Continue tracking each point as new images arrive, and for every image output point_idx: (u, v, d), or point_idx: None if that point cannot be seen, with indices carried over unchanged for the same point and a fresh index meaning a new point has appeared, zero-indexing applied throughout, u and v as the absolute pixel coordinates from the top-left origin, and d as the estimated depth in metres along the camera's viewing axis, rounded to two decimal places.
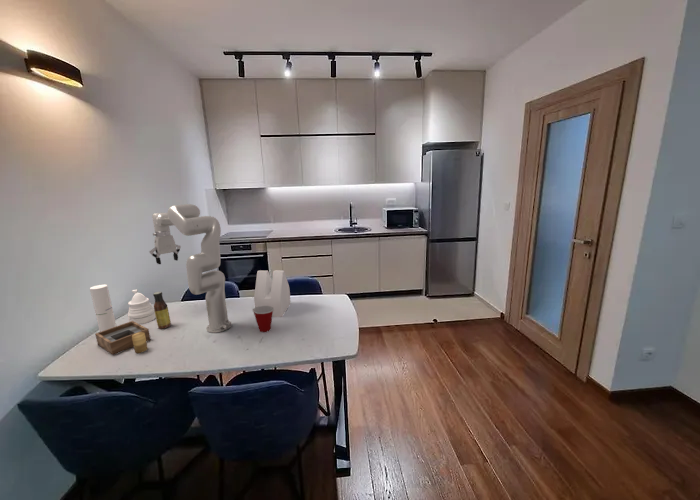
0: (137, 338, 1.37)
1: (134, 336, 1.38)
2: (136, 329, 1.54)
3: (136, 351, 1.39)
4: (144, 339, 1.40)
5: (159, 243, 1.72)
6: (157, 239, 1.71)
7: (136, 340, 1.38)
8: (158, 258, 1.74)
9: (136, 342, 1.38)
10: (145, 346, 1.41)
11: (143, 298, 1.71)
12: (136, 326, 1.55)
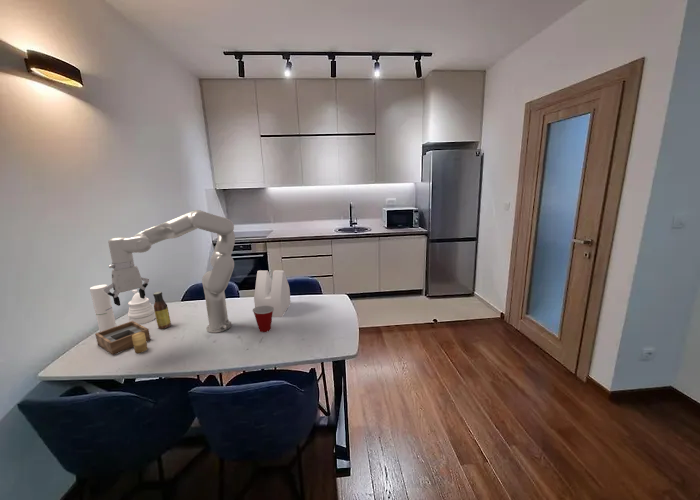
0: (137, 338, 1.37)
1: (134, 336, 1.38)
2: (136, 329, 1.54)
3: (136, 351, 1.39)
4: (144, 339, 1.40)
5: (117, 278, 1.29)
6: (115, 273, 1.28)
7: (136, 340, 1.38)
8: (116, 298, 1.30)
9: (136, 342, 1.38)
10: (145, 346, 1.41)
11: None
12: (136, 326, 1.55)
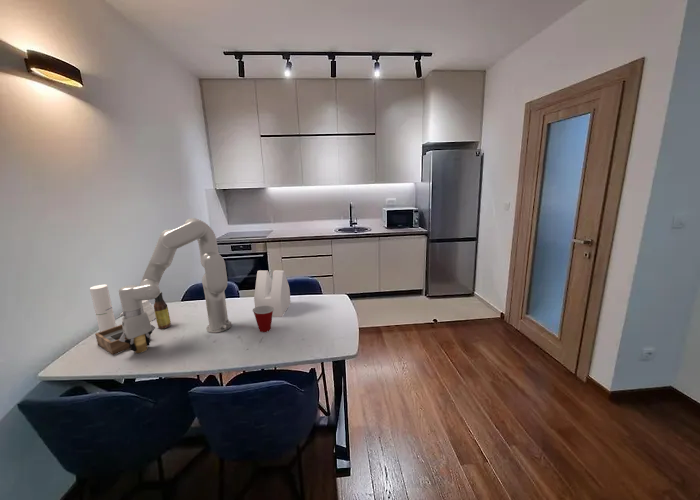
0: (137, 338, 1.37)
1: None
2: None
3: (136, 351, 1.39)
4: (144, 339, 1.40)
5: (128, 326, 1.34)
6: (125, 321, 1.33)
7: (136, 340, 1.38)
8: (132, 344, 1.37)
9: (136, 342, 1.38)
10: (145, 346, 1.41)
11: None
12: None
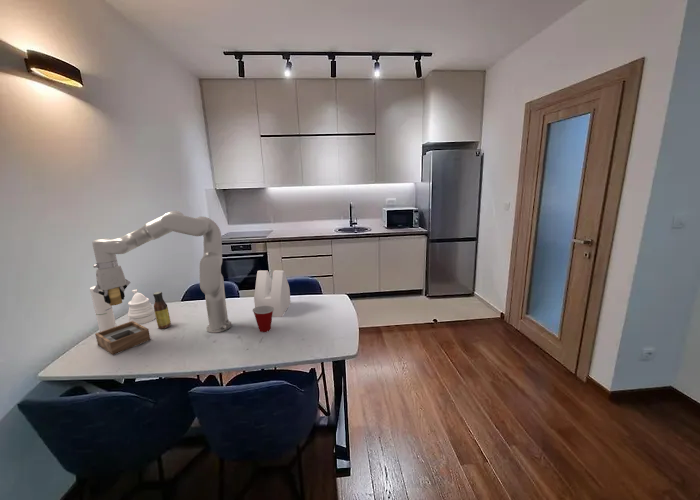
0: (111, 291, 1.41)
1: None
2: (136, 329, 1.54)
3: (110, 303, 1.42)
4: (118, 292, 1.43)
5: (101, 277, 1.37)
6: (99, 272, 1.36)
7: (110, 292, 1.41)
8: (106, 296, 1.40)
9: (110, 294, 1.41)
10: (119, 299, 1.44)
11: (143, 298, 1.71)
12: (136, 326, 1.55)
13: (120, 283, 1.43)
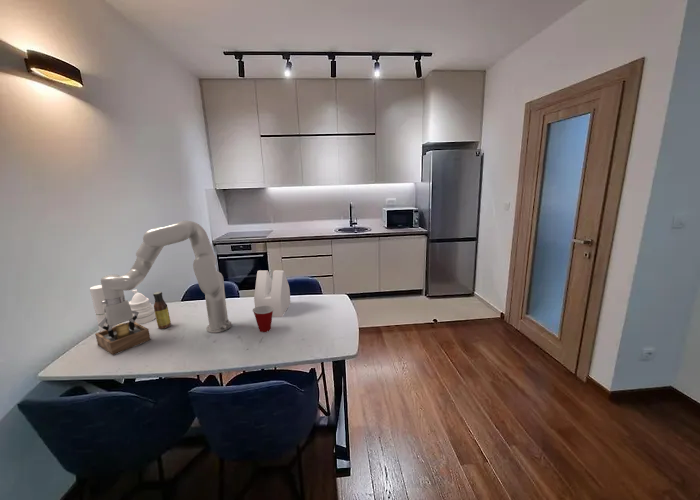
0: (120, 328, 1.45)
1: (118, 326, 1.46)
2: (136, 329, 1.54)
3: None
4: (127, 329, 1.48)
5: (109, 313, 1.41)
6: (107, 308, 1.40)
7: (119, 330, 1.45)
8: (110, 331, 1.43)
9: (119, 332, 1.46)
10: None
11: (143, 298, 1.71)
12: (136, 326, 1.55)
13: (127, 317, 1.47)
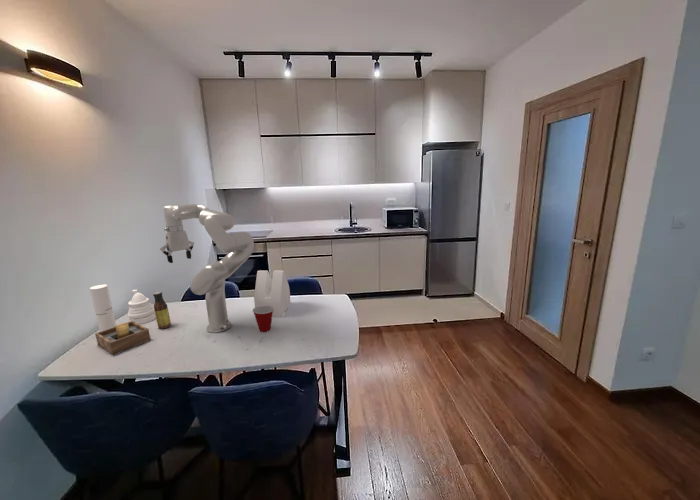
0: (121, 328, 1.46)
1: (118, 326, 1.46)
2: (136, 329, 1.54)
3: None
4: (128, 329, 1.48)
5: (171, 239, 1.53)
6: (169, 235, 1.53)
7: (120, 330, 1.46)
8: (170, 256, 1.55)
9: (120, 332, 1.46)
10: None
11: (143, 298, 1.71)
12: (136, 326, 1.55)
13: (185, 246, 1.59)
